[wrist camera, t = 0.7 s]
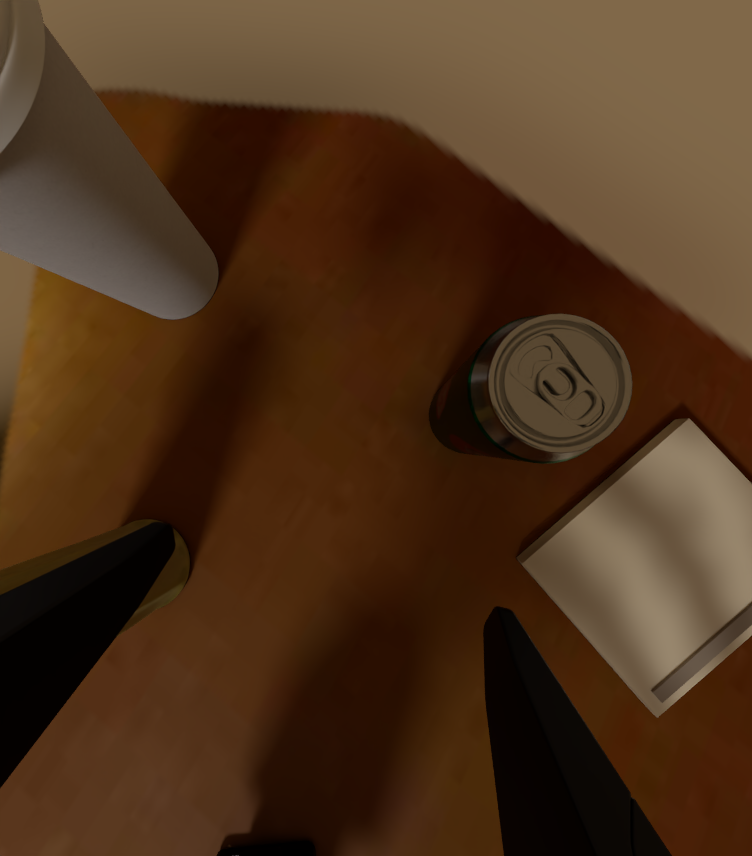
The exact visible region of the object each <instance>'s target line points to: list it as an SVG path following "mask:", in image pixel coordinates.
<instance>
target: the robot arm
mask: <svg viewBox="0 0 752 856" xmlns="http://www.w3.org/2000/svg"><path fill="white" fill-rule="evenodd" d="M175 546H176V543H175V537H174V532H173V527H172V526H171V525H170V524H167V523H163V522H158V521H157V522H153V523H151V524H148V525H146V526H144V527H142V528H140V529H138V530H136V531H134V532H132V533H130V534H127V535H125V536H123V537H121V538H119V539H117V540H115V541H113V542H111V543H109V544H106V545H104V546H102V547H100V548H98V549H96V550H94V551H92V552H90V553H87V554H85V555H83V556H81V557H79V558H77V559H75V560H73V561H71V562H69V563H66V564H64V565H62V566H60V567H58V568H56V569H54V570H52V571H50V572H48V573H45V574H43V575H41V576H39V577H37V578H35V579H33V580H31V581H29V582H26V583H24V584H22V585H20V586H18V587H16V588H14V589H12V590H10V591H8V592H5V593H3V594H1V595H0V788H1V787H2V785H3V784H4V783H5V781H6V780H7V779H8V777H9V776H10V775H11V773H12V772H13V771H14V770H15V768H16V767H17V766H18V764H19V763H20V762H21V760H22V759H23V758H24V757H25V755H26V754H27V753H28V751H29V750H30V749H31V747H32V746H33V745H34V743H35V742H36V741H37V740H38V738H39V737H40V736H41V734H42V733H43V732H44V730H45V729H46V728H47V726H48V725H49V724H50V723H51V721H52V720H53V719H54V717H55V716H56V715H57V713H58V712H59V711H60V710H61V708H62V707H63V706H64V704H65V703H66V702H67V700H68V699H69V698H70V696H71V695H72V694H73V693H74V691H75V690H76V689H77V687H78V686H79V685H80V683H81V682H82V681H83V679H84V678H85V677H86V676H87V674H88V673H89V672H90V670H91V669H92V668H93V666H94V665H95V664H96V663H97V661H98V660H99V659H100V657H101V656H102V655H103V653H104V652H105V651H106V649H107V648H108V647H109V646H110V644H111V643H112V642H113V640H114V639H115V638H116V636H117V635H118V634H119V633H120V631H121V630H122V629H123V627H124V626H125V625H126V623H127V622H128V621H129V619H130V618H131V617H132V615H133V614H134V613H135V611H136V610H137V609H138V607H139V606H140V604H141V603H142V601H143V600H144V598H145V597H146V595H147V594H148V592H149V590H150V589H151V587H152V586H153V584H154V583H155V581H156V579H157V578H158V576H159V575H160V573H161V572H162V570H163V568H164V567H165V565H166V564H167V562H168V561H169V559H170V557H171V556H172V554H173V552H174V550H175ZM483 637H484V675H485V700H486V711H487V719H488V727H489V735H490V744H491V752H492V760H493V768H494V777H495V785H496V793H497V801H498V810H499V818H500V826H501V834H502V842H503V851H504V856H672V855H671V854H670V852H669V851H668V849H667V848H666V846H665V845H664V843H663V842H662V840H661V839H660V837H659V836H658V834H657V833H656V831H655V830H654V828H653V827H652V825H651V824H650V822H649V820H648V819H647V817H646V816H645V814H644V813H643V811H642V810H641V808H640V807H639V805H638V803H637V802H636V800H635V799H634V798H632V797H631V794H630V791H629V790H628V788H627V787H626V785H625V784H624V782H623V781H622V779H621V777H620V776H619V774H618V773H617V771H616V770H615V768H614V767H613V765H612V764H611V762H610V761H609V759H608V757H607V756H606V754H605V753H604V751H603V750H602V748H601V747H600V745H599V744H598V742H597V740H596V739H595V737H594V736H593V734H592V733H591V731H590V730H589V728H588V727H587V725H586V723H585V722H584V720H583V719H582V717H581V716H580V714H579V713H578V711H577V710H576V708H575V706H574V705H573V703H572V702H571V700H570V699H569V697H568V696H567V694H566V693H565V691H564V689H563V688H562V686H561V685H560V683H559V682H558V680H557V679H556V677H555V676H554V674H553V672H552V671H551V669H550V668H549V666H548V665H547V663H546V662H545V660H544V659H543V657H542V655H541V654H540V652H539V651H538V649H537V648H536V646H535V645H534V643H533V642H532V640H531V638H530V637H529V635H528V634H527V632H526V631H525V629H524V628H523V626H522V625H521V623H520V622H519V620H518V618H517V617H516V615H515V614H514V613H513V611H511V610H510V609H507V608H503V607H499V606H496V607H494V609H493V610H492V612H491V614H490V615H489V617H488V619H487V620H486V622H485V625H484V630H483ZM217 856H316V853H315V847H314V845H313V843H311V842H310V841H302V842H292V843H282V844H272V845H262V846H252V847H242V848H232V849H223V850H220V851H219V852H218V854H217Z"/></svg>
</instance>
